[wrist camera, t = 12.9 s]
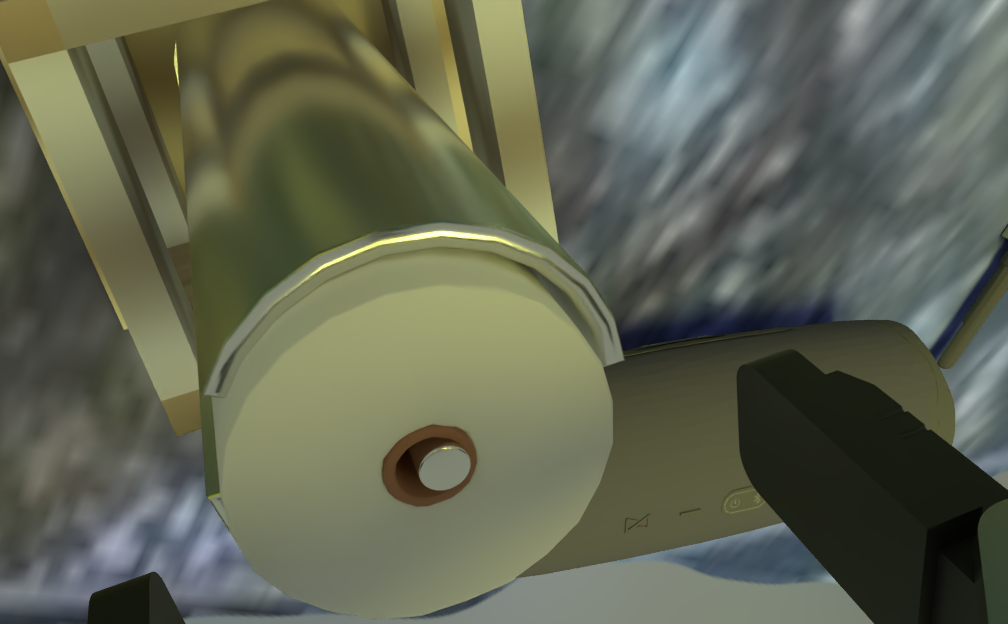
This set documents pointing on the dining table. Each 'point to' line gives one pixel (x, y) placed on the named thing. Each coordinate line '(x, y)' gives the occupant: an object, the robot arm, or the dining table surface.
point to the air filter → (375, 327)
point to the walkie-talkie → (977, 312)
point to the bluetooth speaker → (720, 433)
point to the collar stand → (159, 150)
